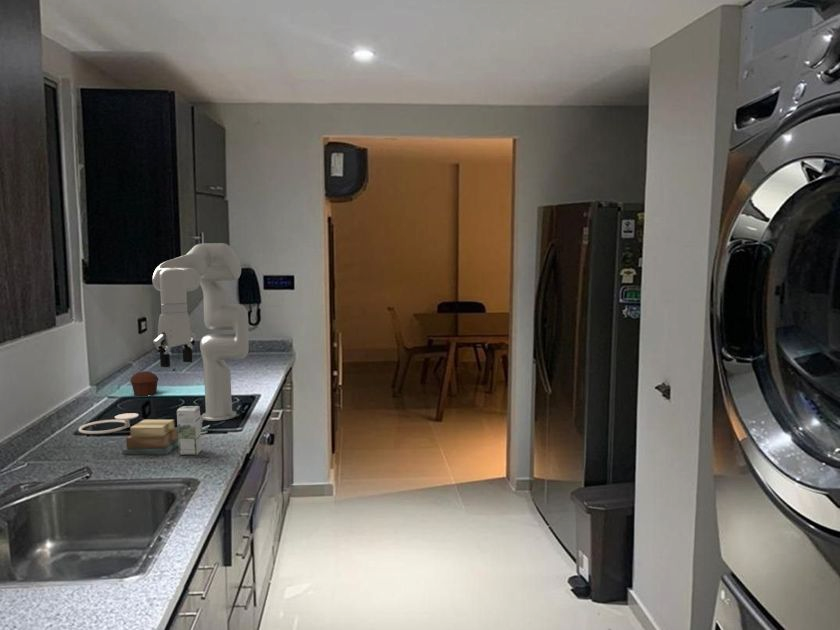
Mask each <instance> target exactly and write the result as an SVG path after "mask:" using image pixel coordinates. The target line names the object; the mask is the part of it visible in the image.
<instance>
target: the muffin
mask: <svg viewBox="0 0 840 630" xmlns="http://www.w3.org/2000/svg"><path fill="white" fill-rule="evenodd" d="M158 381H159V377H158V375H156V374H155V373H154V372H151V371H139V372H136V373H135V374H133V375H132V377H130V380H129V382H130V383H131V386H132V392H133V395H134V396H148V395H153V396H155V395H157V389H158V388H157V387H158ZM154 394H155V395H154ZM148 397H149V396H148Z"/></svg>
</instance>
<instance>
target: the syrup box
mask: <svg viewBox="0 0 840 630" xmlns="http://www.w3.org/2000/svg"><path fill="white" fill-rule="evenodd" d="M200 410H201V409H200V405H189V406H188V405H187V406H185V405H184V406H182V405H181V406H179V408H177V410H176V421H177V428H178V444H179V445H178V455H179V456H193V455H194V456H195V455H199V453H200V452H201V451H202V449H203V448H202V434H201V429H200V415H201V411H200Z"/></svg>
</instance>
